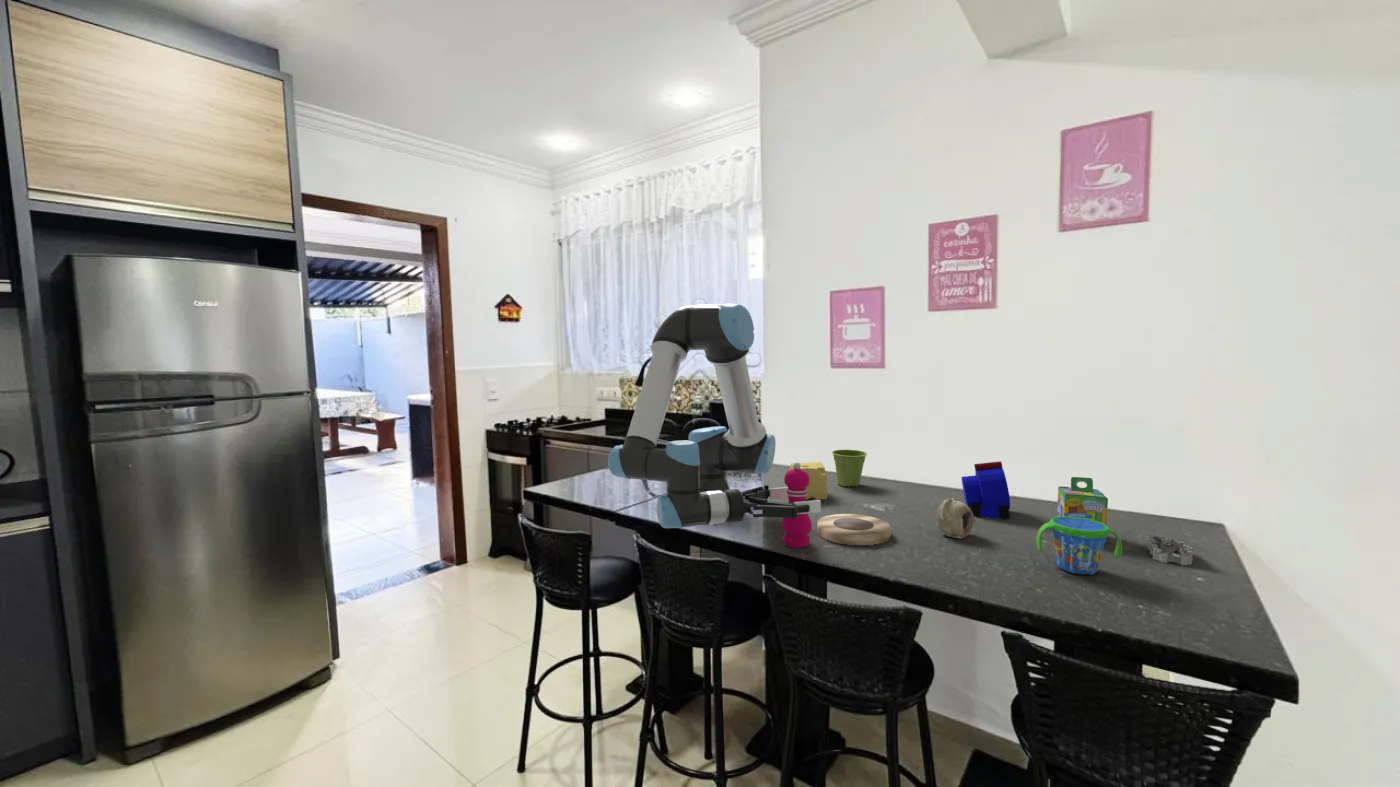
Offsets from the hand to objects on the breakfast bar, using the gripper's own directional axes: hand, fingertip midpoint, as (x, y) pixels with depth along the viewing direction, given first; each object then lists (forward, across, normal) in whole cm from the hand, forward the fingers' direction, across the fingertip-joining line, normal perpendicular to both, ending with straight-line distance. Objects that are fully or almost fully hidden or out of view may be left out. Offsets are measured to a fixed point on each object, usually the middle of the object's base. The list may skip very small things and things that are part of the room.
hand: (806, 498), depth 143 cm
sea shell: (+38, +7, -11) cm, 41 cm away
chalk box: (+67, +18, -11) cm, 70 cm away
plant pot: (+41, -48, -11) cm, 65 cm away
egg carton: (+73, +34, -12) cm, 81 cm away
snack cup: (+47, +34, -11) cm, 59 cm away
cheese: (+21, -40, -11) cm, 47 cm away
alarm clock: (+60, -7, -11) cm, 62 cm away
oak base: (+14, -2, -11) cm, 18 cm away
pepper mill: (-2, 0, -11) cm, 11 cm away
